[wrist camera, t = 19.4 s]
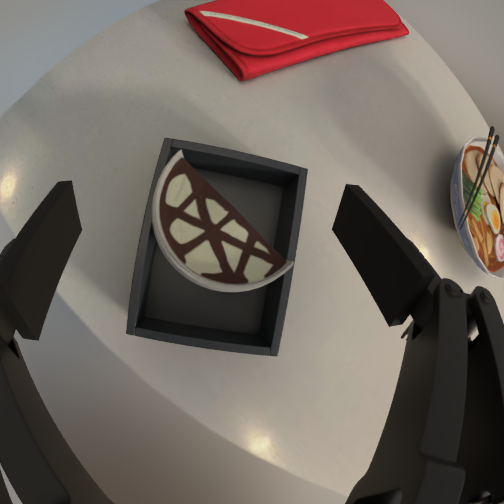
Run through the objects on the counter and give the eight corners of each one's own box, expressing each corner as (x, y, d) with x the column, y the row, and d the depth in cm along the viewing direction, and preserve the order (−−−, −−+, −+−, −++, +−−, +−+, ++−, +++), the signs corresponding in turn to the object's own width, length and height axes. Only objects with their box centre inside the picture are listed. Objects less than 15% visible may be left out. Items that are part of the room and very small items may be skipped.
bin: (137, 321, 28) (125, 333, 22) (169, 158, 29) (164, 137, 23) (263, 341, 30) (277, 356, 25) (289, 183, 31) (308, 168, 26)
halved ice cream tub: (138, 224, 27) (112, 205, 18) (181, 182, 28) (176, 144, 19) (224, 309, 29) (239, 332, 19) (265, 266, 30) (299, 267, 20)
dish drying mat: (407, 38, 38) (416, 29, 35) (243, 88, 31) (249, 71, 27) (357, -11, 37) (364, -21, 33) (181, 21, 29) (182, 4, 26)
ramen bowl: (464, 311, 37) (500, 316, 29) (400, 204, 35) (442, 193, 27) (504, 216, 41) (532, 212, 33) (453, 124, 39) (482, 109, 31)
